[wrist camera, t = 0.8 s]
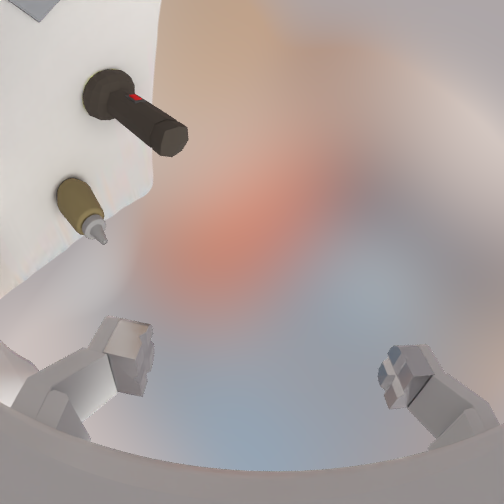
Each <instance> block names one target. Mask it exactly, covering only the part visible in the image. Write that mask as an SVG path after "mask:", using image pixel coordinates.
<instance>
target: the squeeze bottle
mask: <svg viewBox="0 0 504 504" xmlns="http://www.w3.org/2000/svg"><path fill="white" fill-rule="evenodd" d="M57 201H58V207H59V210H60V212H61V213H62V214H63V215H64V217H65V218H66V219H67V220H68V222H69V223H70V224H71V225H72V227H73V228H74V229H75V230H76V231H77V232H78V233H79V234H81V235H85V236H86V238H88V239H97V240H98V241H99V242H100V243H101V244H106V243H107V238H106V236H105V234H104V230H105V228H106V223H105V221H104V212H103V210H102V208H101V206H100V204H99V203H98V201H97V199H96V197H95V195H94V194H93V192H92V190H91V188H90V186H89V185H88V184H87V183H85V182H83V181H80V180H78V179H75V178H70V179H67V180H65V181H64V182H63V183H62V184H61V185H60V186H59V188H58V192H57Z"/></svg>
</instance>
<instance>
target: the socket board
mask: <svg viewBox="0 0 504 504" xmlns="http://www.w3.org/2000/svg"><path fill="white" fill-rule="evenodd" d="M9 1H10V2H11V3H13V4H14V5H16V6H17V7H19V8H20V9H21V10H23V11H24V12H26V13H27V14H28V15H30V16H31V17H33V18H34V19H35V20H37V21H38V22H40V21H41V20H42V19H43V18H44V17H45V16H46V15H47V14H48V12H49V11H50V10H51V9H52V8H53V7H54V6H55V5H56V4H57V3H58V2H59V1H60V0H9Z"/></svg>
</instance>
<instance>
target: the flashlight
mask: <svg viewBox="0 0 504 504" xmlns="http://www.w3.org/2000/svg"><path fill="white" fill-rule="evenodd" d="M83 103H84V106H85V108H86V110H87V112H88V113H89V115H91V116H93V117H95V118H97V119H100V120H111V119H114V118H115V119H116V120H118V121H119V122H120V123H121V124H123V125H124V126H125V127H126V128H127V129H129V130H130V131H131V132H132V133H134V134H135V135H136V136H137V137H138V138H140V139H141V140H142V141H143V142H144V143H146V144H147V145H148V146H149V147H152V149H153V150H154V151H155V152H157V153H158V154H159V155H160V156H168V157H173V156H174V155H176V154H177V153H179V152H180V151H182V149H183V148H184V146H185V145H186V143H187V141H188V129H187V127H186V126H185V125H183V124H182V123H180V122H177V121H176V120H175V119H174V118H172V117H171V116H169V115H168V114H166V113H164V112H163V111H162V110H160V109H158V108H157V107H155V106H154V105H152V104H150V103H149V102H147V101H146V100H144V99H142V98H141V97H139V96H138V95H136V94H135V92H134V83H133V81H132V79H131V77H130V76H129V75H128V74H126V73H125V72H123V71H121V70H110V69H107V70H104V71H101V72H98V73H97V74H96V75H94V76H93V77H91V79H90V80H89V81H88V83H87V84H86V86H85V89H84V93H83Z"/></svg>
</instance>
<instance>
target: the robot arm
mask: <svg viewBox="0 0 504 504" xmlns="http://www.w3.org/2000/svg"><path fill="white" fill-rule="evenodd" d="M152 335H153V329H152V325H151V324H147V323H141V322H137V321H132V320H128V319H123V318H117V317H113V316H109V315H108V316H106V317H105V318H104V320H103V321H102V323H101V325H100V326H99V328H98V330H97V332H96V333H95V335H94V337H93V339H92V340H91V342H90V344H89V346H88V348H81V349H79V350H78V351H76V352H74V353H72V354H71V355H68V356H67V357H65V358H63V359H61V360H59V361H57V362H55V363H54V364H52V365H50V366H48V367H46V368H44V369H43V370H41V371H39V370H38V369H37V368H36V366H35V365H34V364H33V363H32V362H31V361H29V360H27V359H25V358H23V357H22V356H20V355H18V354H17V353H15V352H14V351H12V350H11V349H10V348H9V347H7V346H6V345H5V344H4V343H3V342H2V341H1V340H0V504H504V423H503V424H501V425H500V424H499V422H498V420H497V418H496V416H495V414H494V412H493V411H492V409H491V407H490V405H489V403H488V402H487V401H486V400H484V399H483V398H481V397H480V396H479V395H477V394H476V393H475V392H473V391H472V390H470V389H469V388H468V387H466V386H465V385H463V384H462V383H461V382H459V381H458V380H457V379H455V378H454V377H452V376H451V375H450V374H445V372H444V370H443V369H442V367H441V365H440V364H439V362H438V360H437V358H436V357H435V355H434V353H433V352H432V350H431V348H430V347H429V346H428V345H426V344H424V345H397V346H393V347H391V348H390V350H389V352H388V358H387V359H386V360H385V361H383V362H382V364H381V366H380V368H379V372H378V381H379V384H380V386H381V387H382V388H383V389H384V390H385V394H384V397H385V400H386V403H387V405H388V408H389V409H399V408H407V409H408V410H409V411H410V412H411V413H412V414H413V415H414V416H415V417H416V418H417V419H418V420H419V421H420V422H421V424H422V425H423V426H424V427H425V428H426V429H427V430H428V431H429V432H430V433H431V434H432V435H433V436H434V437H435V438H436V440H435V441H434V442H433V443H431V444H430V446H429V447H428V450H429V451H426V452H422V453H418V454H414V455H410V456H407V457H402V458H397V459H393V460H388V461H383V462H377V463H371V464H365V465H358V466H351V467H343V468H334V469H322V470H307V471H242V470H227V469H217V468H208V467H199V466H191V465H185V464H179V463H172V462H167V461H162V460H157V459H152V458H147V457H143V456H139V455H134V454H131V453H127V452H123V451H119V450H116V449H112V448H109V447H105V446H102V445H99V444H96V443H92V442H90V441H91V438H90V436H89V434H88V432H87V431H86V429H85V427H84V425H83V424H82V422H84V421H85V420H86V419H87V418H88V417H90V416H91V415H92V414H93V413H95V412H96V411H97V410H98V409H99V408H101V407H102V406H103V405H104V404H105V403H107V402H108V401H109V400H110V399H111V398H113V397H114V396H115V395H116V394H117V393H118V392H121V393H126V394H131V395H136V396H141V397H143V394H144V391H145V388H146V384H147V375H146V374H147V373H148V372H150V371H151V368H152V365H153V358H154V343H153V342H152V341H151V338H152Z"/></svg>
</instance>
